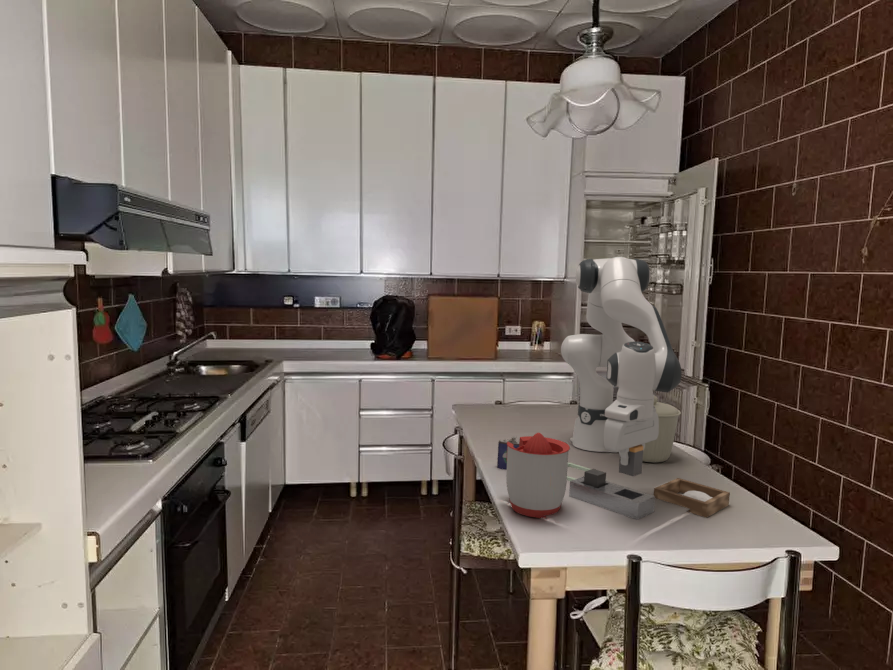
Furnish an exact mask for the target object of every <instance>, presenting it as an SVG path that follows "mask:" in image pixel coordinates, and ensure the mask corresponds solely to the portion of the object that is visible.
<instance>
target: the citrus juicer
mask: <svg viewBox="0 0 893 670" xmlns="http://www.w3.org/2000/svg"><path fill="white" fill-rule="evenodd" d="M518 442H519V447H518V448H514V447H513V444H512V443H510V442H507V453H504V454H503V458H507V460H506V461H507V470H506V476H505V477H506V482H505V483H506V490H507V494H508V499H509V503H510V506H511V508H512V510H513V511H514V512H515V513H517V514H520V515H522V516H525V517H530V518H536V519H543V518H547V516H550V515H554V514H556V513H558V512H559V510H560V509H561V507H562V505H563V500H564V498H565V494H566V491H567V482H568V480H567V476H568V469H569V467H568V462H569V451H570V449H571V448H570V445H569V444H568V443H566V442H564V441H562V440H560V439H556V438H551V437H545V436H544V435H543V434H542V433H541V432H536V433H535V434H533V435H531V436H529V435H528V436H527V435H526V436H525V435H524V436H520V437H519V441H518Z"/></svg>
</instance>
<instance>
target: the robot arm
mask: <svg viewBox="0 0 893 670" xmlns="http://www.w3.org/2000/svg"><path fill="white" fill-rule="evenodd" d="M650 281H651V270H650V266H649V264H648V263H647V262H646V260H644V259H640V258H634V259H632V258H627V257H624V256H615V257H612V258H611V257H609V258H607V257H606V258H595V259H593V258H588V259H587V258H586V259H584V260H581V262H580V263H579V264H578V267H577V269H576V272H575V282H576V284H577V288H578V289H579V290H580V291H581V292H582V293H585V294H588V296H587V303H586V304H587V305H586V315H585V317H586V321H587V323H588V325H589V326H591V328H592V329H594V330H596V331H598V332H600V333H602V334H594V333H593V334H592V333H590V334H589V333H588V334H587V333H577V334H573V335H567V336H566V337H565V338H564V339H563V341H562V343H561V347H560V354H561V357H562V359H563V360H564V362H565V363H566V364H567V365H568V366H570V367H571V368H572V369H573V371H574V373H575V374H576V377H577V378H578V382H579V404H578V407H577V415H578V417H576V418H575V420H574V427H573V434H572V436H571V437H570V440H569V441H570V442H572V446H573V447H575V448H577V449H581V450H584V451H589V452H600V453H601V452H602V453H604V452H606V453H618V455H619V458H620V457H621V464H622V465H629V464H630V458H629V457H628V452H629V448H631V447H635V446H638V445H642V446H643V450H644V448H645V443H647V442H650V441H654V440H656V439H657V437H658V434H659V419H658V414H657V413H656V408H655V407H654V391H655V392H662V393H670V392H672V391H673V390H674V389H675V388H677V387H678V386H679V385H680V383H681V381H682V376H683V375H682V373H683V372H682V367H681V363H680V360H679V358H678V357H677V355H676V353H675V350H673V347H672V344H671V341H670V337H669V336H668V333H667V331H666V327H665V325H664V322H663V320H662V317H661V314H660V312H659V311H658V309H657V307H656V306H655V305H653V304H652V303H650V302H649V301H648V299H646V297H645V296H644V294H643V292H645V291H646V290H647V289H648V287H649V284H650ZM623 324H625V325H628V326H631V327H634V328H636V329H638V330H640V331H642V332H643V333H644V334H645V335H646V336H647V339H648V342H649V343H645V342H643V341H636V340H635V339H634V338H632V337H631V336H630V335H628V333H627V332H626V331H625V329H624V328H623ZM597 368H606V377H604V376H602V375H600V374H599V373H598V372H597ZM614 387H615V388H618V390H617V391H616V392H617V393H616V399H615V400H614V391H615V390H614Z"/></svg>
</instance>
